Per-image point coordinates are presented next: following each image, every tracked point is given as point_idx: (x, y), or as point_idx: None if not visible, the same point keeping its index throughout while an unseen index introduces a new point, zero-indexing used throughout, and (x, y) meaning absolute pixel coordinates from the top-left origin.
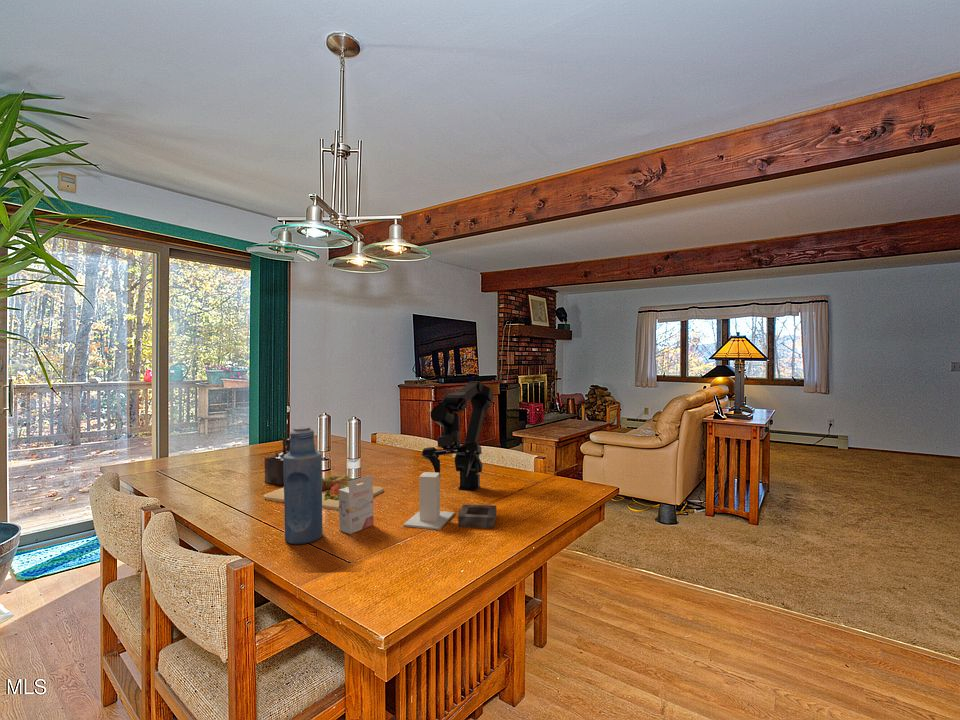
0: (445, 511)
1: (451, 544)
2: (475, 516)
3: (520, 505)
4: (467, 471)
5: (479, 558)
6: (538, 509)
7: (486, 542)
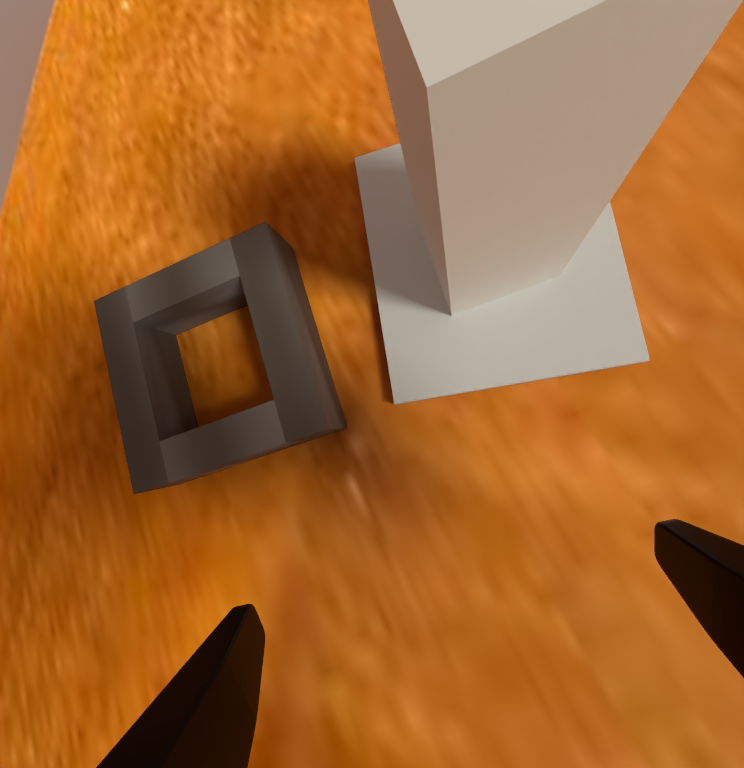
0: (455, 393)
1: (236, 72)
2: (179, 269)
3: (111, 698)
4: (194, 668)
5: (104, 41)
6: (22, 657)
7: (122, 167)
